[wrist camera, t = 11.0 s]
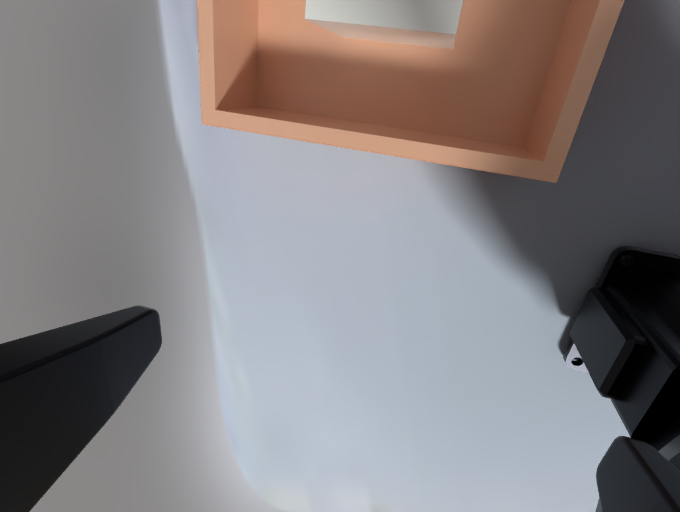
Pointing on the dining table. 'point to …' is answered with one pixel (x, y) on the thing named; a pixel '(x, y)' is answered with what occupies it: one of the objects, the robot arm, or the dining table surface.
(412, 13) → the grey block
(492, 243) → the dining table surface
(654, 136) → the dining table surface
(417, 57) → the terracotta bin
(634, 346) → the robot arm
